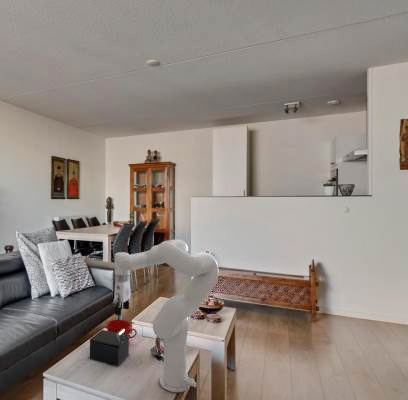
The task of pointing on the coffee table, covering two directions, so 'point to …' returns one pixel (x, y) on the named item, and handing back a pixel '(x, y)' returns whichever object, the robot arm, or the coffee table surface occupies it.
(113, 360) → the bin
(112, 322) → the ceramic cup
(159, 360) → the coffee table surface
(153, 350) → the packaged food
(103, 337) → the bin lid
